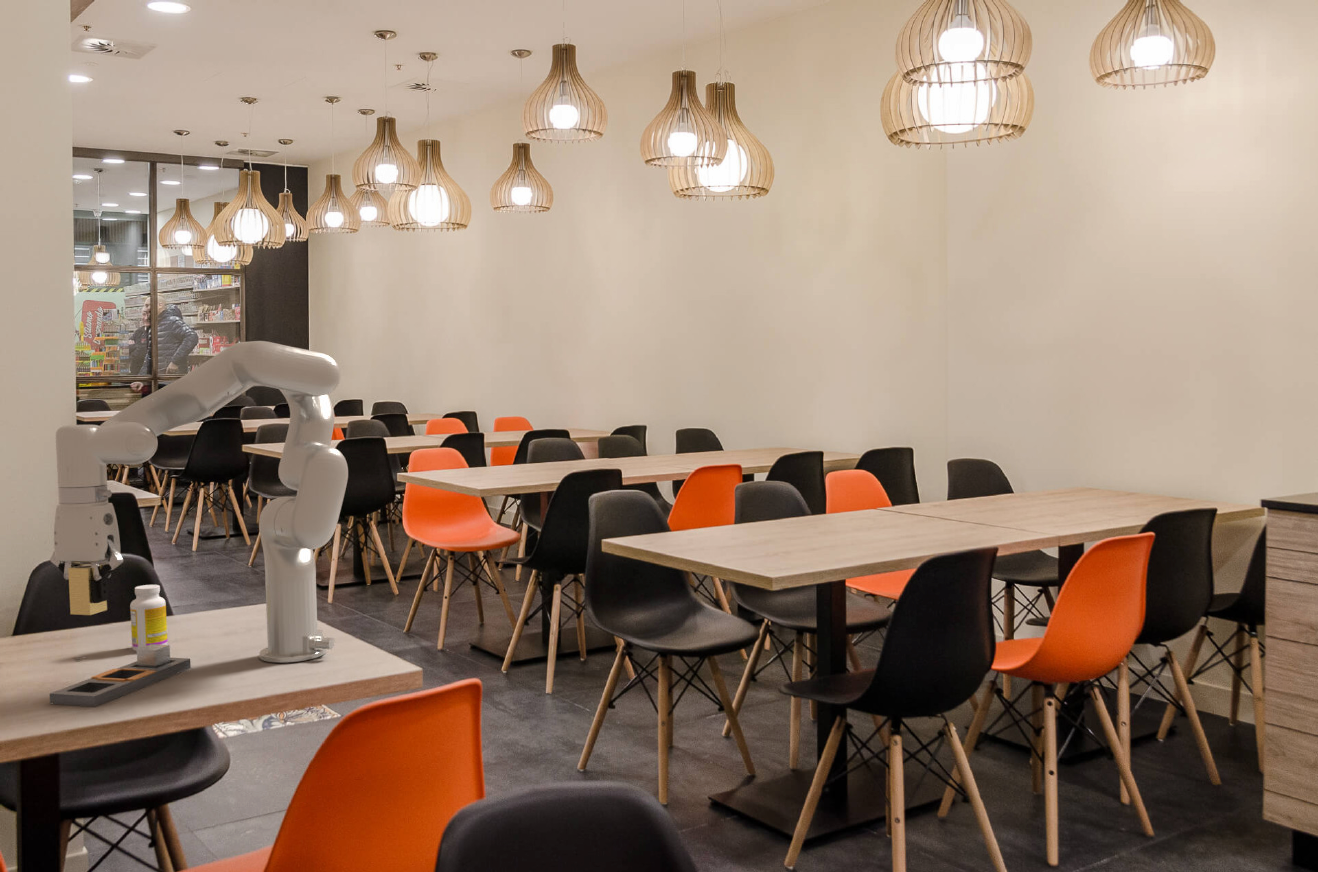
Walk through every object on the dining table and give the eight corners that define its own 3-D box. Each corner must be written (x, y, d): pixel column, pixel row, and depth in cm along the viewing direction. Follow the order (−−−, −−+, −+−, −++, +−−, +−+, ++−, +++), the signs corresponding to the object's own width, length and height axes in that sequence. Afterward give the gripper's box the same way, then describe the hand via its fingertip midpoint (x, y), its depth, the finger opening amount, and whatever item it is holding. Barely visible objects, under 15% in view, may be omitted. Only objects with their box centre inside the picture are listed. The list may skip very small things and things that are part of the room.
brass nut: (107, 609, 191) (105, 564, 190) (90, 614, 187) (87, 568, 187) (87, 609, 192) (85, 563, 191) (70, 614, 188) (68, 567, 187)
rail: (190, 667, 209) (190, 657, 209) (94, 706, 185) (94, 694, 185) (150, 665, 211) (149, 655, 211) (50, 703, 187) (49, 692, 187)
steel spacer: (170, 671, 207) (169, 645, 207) (156, 676, 203) (155, 650, 203) (152, 669, 208) (151, 644, 208) (137, 675, 204) (136, 649, 204)
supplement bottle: (174, 644, 228) (171, 583, 227) (156, 652, 221) (154, 589, 221) (143, 644, 229) (141, 583, 228) (125, 652, 222) (122, 589, 221)
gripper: (140, 494, 190) (145, 598, 191) (59, 493, 194) (64, 595, 195) (109, 499, 183) (114, 607, 184) (25, 498, 187) (31, 604, 188)
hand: (88, 600), depth 189 cm, fingers closed on brass nut, 4 cm apart
